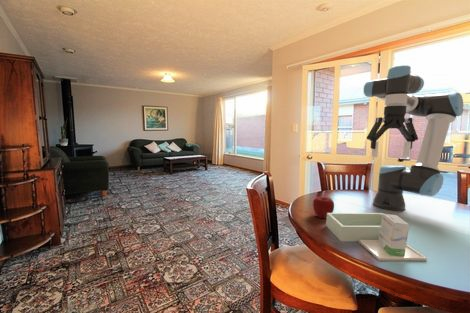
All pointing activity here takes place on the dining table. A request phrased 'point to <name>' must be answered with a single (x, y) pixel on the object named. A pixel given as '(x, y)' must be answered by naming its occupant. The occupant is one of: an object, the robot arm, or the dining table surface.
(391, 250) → the ink box
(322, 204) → the apple
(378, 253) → the tray
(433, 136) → the robot arm
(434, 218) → the dining table surface
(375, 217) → the box
